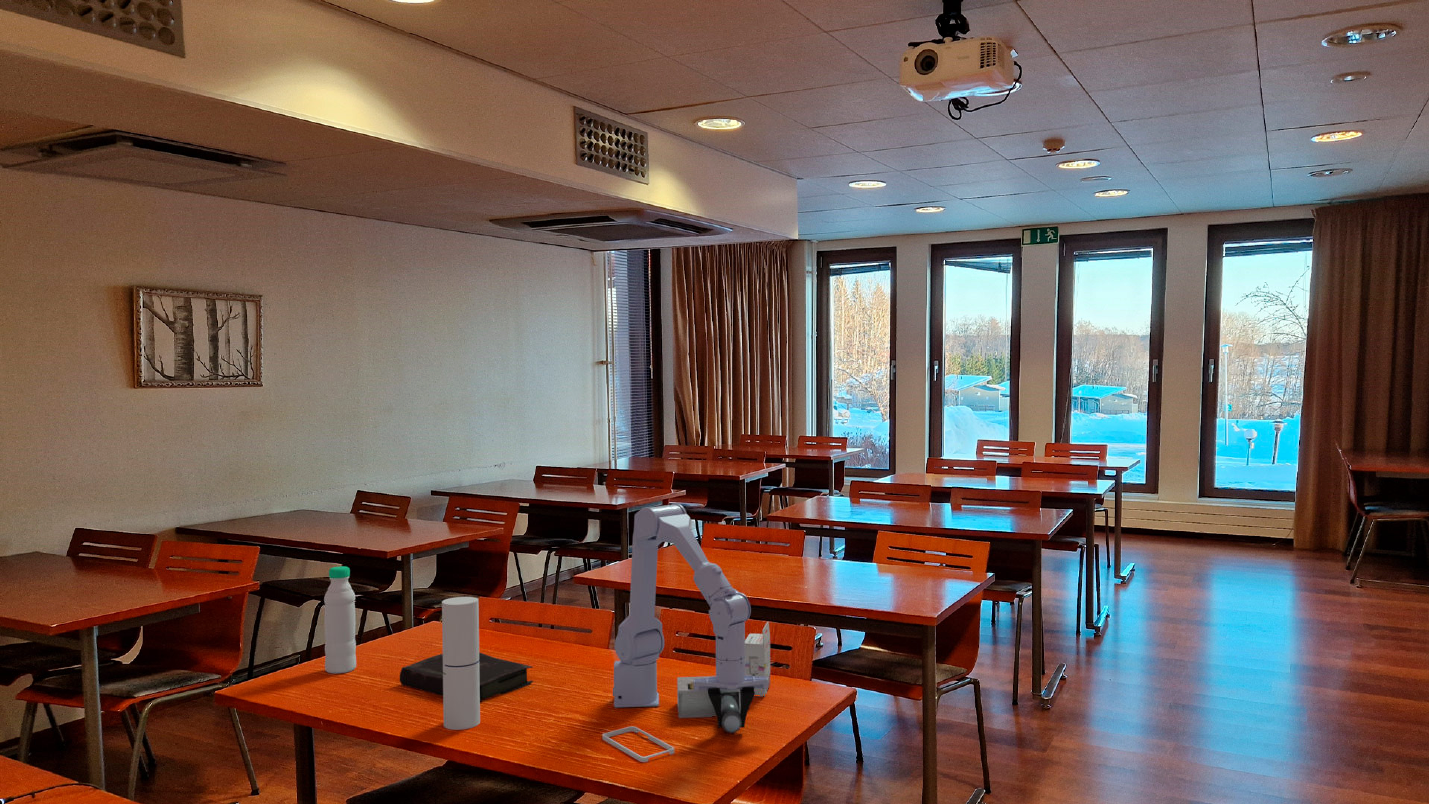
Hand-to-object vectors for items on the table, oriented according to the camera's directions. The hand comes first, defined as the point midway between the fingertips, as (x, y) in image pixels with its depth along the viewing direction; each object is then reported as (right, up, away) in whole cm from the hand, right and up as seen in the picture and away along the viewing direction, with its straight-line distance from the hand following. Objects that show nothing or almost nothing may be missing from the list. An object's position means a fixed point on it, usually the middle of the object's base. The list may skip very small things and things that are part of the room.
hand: (731, 726), depth 183 cm
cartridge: (0, -1, +4) cm, 4 cm away
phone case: (-18, -2, -6) cm, 19 cm away
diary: (-60, -2, +33) cm, 68 cm away
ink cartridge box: (+6, -1, +26) cm, 27 cm away
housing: (-4, -1, +14) cm, 14 cm away
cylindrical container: (-55, -2, +7) cm, 55 cm away
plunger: (-7, +3, +12) cm, 14 cm away
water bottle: (-94, -2, +44) cm, 104 cm away
